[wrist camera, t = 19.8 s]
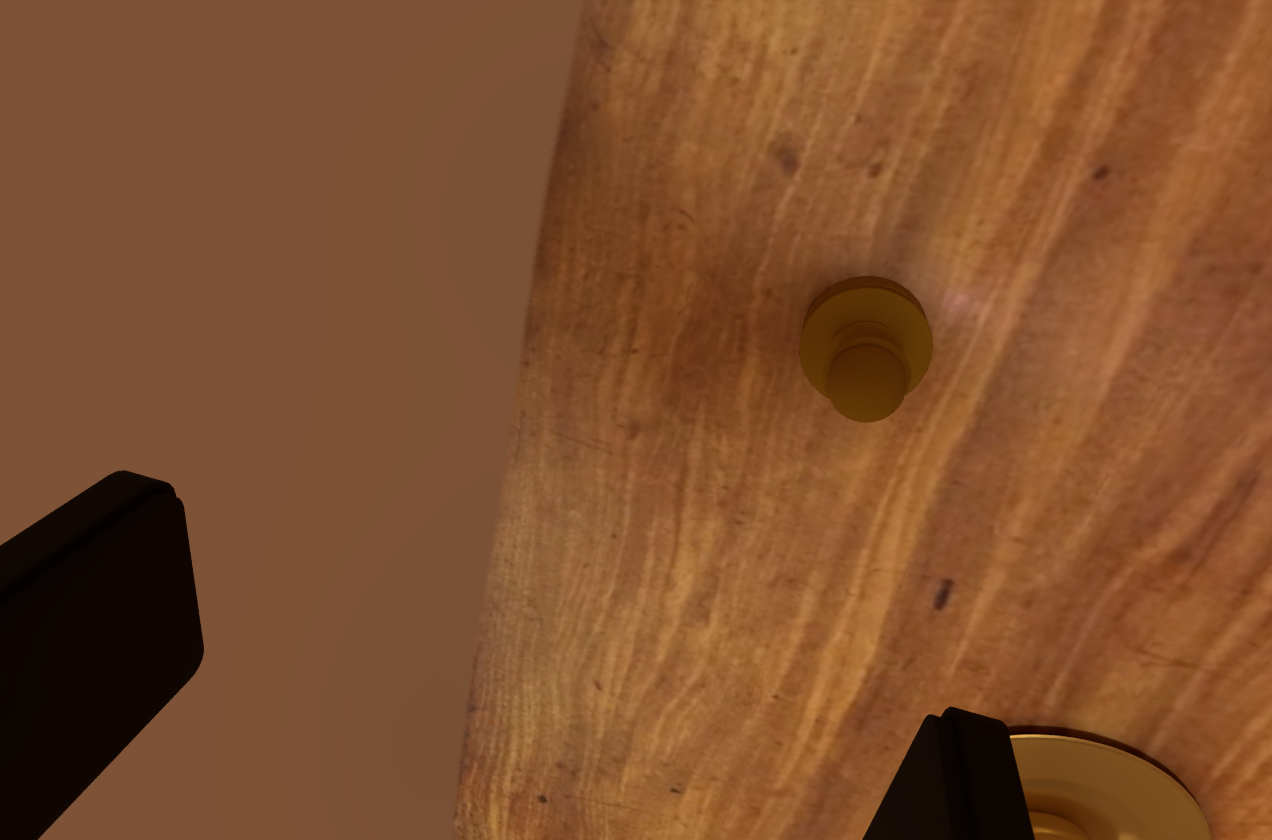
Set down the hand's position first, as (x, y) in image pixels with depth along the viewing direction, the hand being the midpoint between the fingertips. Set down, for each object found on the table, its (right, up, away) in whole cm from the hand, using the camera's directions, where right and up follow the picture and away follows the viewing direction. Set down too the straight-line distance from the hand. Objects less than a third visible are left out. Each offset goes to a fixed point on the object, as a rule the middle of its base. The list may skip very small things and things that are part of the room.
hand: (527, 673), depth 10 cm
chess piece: (+9, +6, +16) cm, 19 cm away
